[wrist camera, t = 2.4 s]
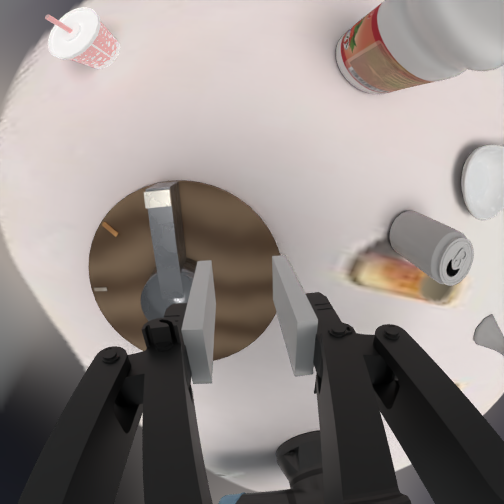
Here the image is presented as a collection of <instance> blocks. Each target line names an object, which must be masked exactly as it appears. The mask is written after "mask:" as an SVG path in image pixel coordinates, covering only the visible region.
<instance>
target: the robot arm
mask: <svg viewBox="0 0 504 504" xmlns="http://www.w3.org/2000/svg"><path fill="white" fill-rule="evenodd" d="M272 272H273V301H274V305H275V308H276V312H277V315H278V319H279V323H280V326H281V330H282V333H283V337H284V340H285V344H286V347H287V351H288V354H289V358H290V362H291V365H292V369H293V372H294V376H303V375H310V374H313V368H314V366H315V369H316V372H317V375H316V382H315V390H314V393H317V400H318V412H319V424H320V431H316V432H310V433H306V434H303V435H300V436H297V437H294V438H292V439H290V440H288V441H287V442H285V443H284V444H282V445H281V446H280V447H279V448H278V450H277V452H276V456H277V462H278V465H279V466H280V468H281V470H282V471H283V473H284V474H285V476H286V477H287V479H288V480H289V483H290V488H291V489H287V490H279V491H269V492H257V493H241V494H230V495H225V496H224V497H222V498H221V500H220V501H219V503H218V504H411V501H410V499H409V498H408V496H406V495H403V494H401V493H400V491H399V489H398V485H397V480H396V476H395V471H394V466H393V462H392V458H391V453H390V449H389V445H388V441H387V437H386V433H385V429H384V425H383V422H382V418H381V414H380V412H381V413H382V415H383V417H384V418H385V420H386V422H387V423H388V425H389V427H390V428H391V430H392V432H393V433H394V435H395V436H396V438H397V440H398V441H399V443H400V445H401V446H402V448H403V450H404V451H405V453H406V455H407V456H408V458H409V460H410V462H411V463H412V465H413V467H414V468H415V470H416V471H417V473H418V475H419V477H420V479H421V480H422V482H423V484H424V485H425V487H426V489H427V491H428V492H429V494H430V496H431V498H432V499H433V501H434V503H435V504H504V441H503V440H502V439H501V438H500V436H499V435H498V434H497V433H496V431H495V430H494V429H493V428H492V427H491V426H490V424H489V423H488V422H487V421H486V419H485V418H484V417H483V416H482V415H481V413H480V412H479V411H478V410H477V409H476V408H475V406H474V405H473V404H472V403H471V402H470V401H469V399H468V398H467V397H466V396H465V395H464V394H463V393H462V391H461V390H460V389H459V388H458V387H457V386H456V385H455V384H454V382H453V381H452V380H451V379H450V378H449V377H448V376H447V375H446V374H445V372H444V371H443V370H442V369H441V368H440V367H439V366H438V365H437V364H436V363H435V362H434V361H433V359H432V358H431V357H430V356H429V355H428V354H427V353H426V352H425V351H424V350H423V349H422V348H421V347H420V346H419V345H418V344H417V342H416V341H415V340H414V339H413V338H412V337H411V336H410V335H409V334H408V333H407V332H406V331H405V330H404V329H402V328H401V327H399V326H396V325H390V324H388V325H382V326H379V327H378V328H377V329H376V331H375V335H364V334H357V333H356V332H355V330H354V329H353V327H351V326H350V325H348V324H345V323H342V322H341V320H340V319H339V317H338V315H337V314H336V312H335V310H334V309H333V307H332V305H331V304H330V302H329V300H328V299H327V297H326V296H324V295H323V294H321V293H319V292H317V293H307V294H305V292H304V290H303V288H302V286H301V284H300V282H299V280H298V278H297V276H296V274H295V272H294V270H293V268H292V266H291V264H290V262H289V261H288V259H287V257H286V255H280V256H272ZM215 313H216V298H215V289H214V280H213V271H212V261H211V260H207V261H198V262H197V266H196V270H195V274H194V278H193V282H192V286H191V290H190V295H189V299H188V303H176V304H171V305H170V306H169V307H168V308H167V309H166V311H165V314H164V317H163V318H156V319H153V320H150V321H148V322H147V323H145V324H144V325H143V327H142V329H141V330H142V333H143V337H144V340H145V344H146V347H147V348H146V350H145V351H143V352H140V353H136V354H131V355H127V353H126V350H124V349H123V348H121V347H108V348H105V349H103V350H102V351H100V352H99V353H98V354H97V355H96V356H95V358H94V360H93V361H92V363H91V364H90V366H89V368H88V369H87V371H86V373H85V375H84V376H83V378H82V379H81V381H80V383H79V385H78V386H77V388H76V390H75V391H74V393H73V395H72V396H71V398H70V400H69V402H68V403H67V405H66V407H65V409H64V411H63V412H62V414H61V416H60V418H59V419H58V422H57V423H56V425H55V427H54V429H53V431H52V433H51V435H50V436H49V438H48V440H47V442H46V444H45V446H44V448H43V450H42V452H41V454H40V456H39V458H38V460H37V462H36V464H35V466H34V468H33V471H32V472H31V475H30V477H29V479H28V481H27V483H26V486H25V488H24V490H23V492H22V495H21V497H20V500H19V502H18V504H114V502H115V498H116V495H117V492H118V488H119V485H120V481H121V478H122V474H123V471H124V468H125V465H126V462H127V458H128V455H129V452H130V449H131V445H132V443H133V440H134V436H135V433H136V430H137V427H138V424H139V421H140V418H141V415H142V413H143V483H144V500H145V504H212V499H211V495H210V490H209V485H208V480H207V476H206V471H205V465H204V460H203V455H202V449H201V444H200V438H199V432H198V426H197V419H196V413H195V406H194V399H193V392H192V388H191V384H190V383H191V376H192V381H193V384H207V383H212V369H213V348H214V330H215ZM379 410H380V411H379Z"/></svg>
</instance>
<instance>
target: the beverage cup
mask: <svg viewBox="0 0 504 504" xmlns="http://www.w3.org/2000/svg"><path fill="white" fill-rule="evenodd" d="M45 19H47V20H48V21H50V22H52V23H53V24H55V26H54V27H53V29H52V30H51V33H50V36H49V39H48V50H49V51H50V53H51V54H52V56H54V57H57V58H60V59H63V60H65V59H70V60H73V61H76V62H79V63H82V64H85V65H87V66H90V67H93V68H96V69H103V68H105V67H107V66H109V65H111V64H112V63H113V62H114V61H115V60H116V58H117V57H118V55H119V52H120V44H119V42H118V41H117V40H116V39H115V37H114V36H113V35H112V34H111V33H110V32H109V31H108V29H107V28H106V27H105V26H104V25H103V24H102V23H101V21H100V17H99V16H98V15H97V13H96V12H95V11H94V10H93V9H91V8H87V7H82V8H76V9H74V10H72V11H70V12H68V13H66V14H65V15H64V16H63V17H62V18H61V19H60V20H59V21H58V20H57V19H55V18H53V17H52V16H50V15H47V16H46V17H45Z"/></svg>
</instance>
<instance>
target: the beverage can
mask: <svg viewBox="0 0 504 504" xmlns="http://www.w3.org/2000/svg"><path fill="white" fill-rule="evenodd" d="M390 243H391V246H392V248H393V249H394V250H395V251H396V252H397V253H398V254H400V255H401V256H403V257H404V258H405V259H407V260H408V261H410V262H411V263H412V264H414V265H415V266H416V267H418V268H419V269H420V270H422V271H423V272H424V273H426V274H427V275H428V276H430V277H431V278H432V279H434V280H435V281H437V282H438V283H440V284H446V285H449V286H452V285H456V284H458V283H459V282H461V281H462V280H463V279H464V278H465V276H466V275H467V274H468V272H469V270H470V268H471V265H472V262H473V257H474V251H473V246H472V244H471V242H470V241H469V240H468V239H467V238H466V236H465V235H464V234H463V233H461V232H459V231H457V230H455V229H453V228H451V227H449V226H447V225H444V224H442V223H440V222H438V221H436V220H433V219H431V218H429V217H427V216H424V215H422V214H420V213H417V212H415V211H406V212H404V213H402V214H400V215H399V216H398V217H397V218H396V219H395V221H394V222H393V224H392V226H391V229H390Z"/></svg>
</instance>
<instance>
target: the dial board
mask: <svg viewBox="0 0 504 504" xmlns="http://www.w3.org/2000/svg"><path fill="white" fill-rule="evenodd" d="M167 182H174V181H167ZM178 182H179V194H180V204H181V214H182V223H183V232H184V241H185V249H186V257H187V258H190V259H192V260H194V261H196V262H198V261H207V260H211V261H212V271H213V280H214V289H215V298H216V313H215V330H214V348H213V361H214V360H218V359H221V358H225V357H228V356H230V355H232V354H235V353H237V352H239V351H240V350H242V349H244V348H245V347H247V346H248V345H250V344H251V343H252V342H254V341H255V340H256V339H257V338H258V337H259V336H260V335H261V334H262V333H263V332H264V331H265V329H266V328H267V327H268V325H269V324H270V323H271V321H272V319H273V317H274V316H275V314H276V308H275V305H274V301H273V272H272V256H280V253H279V250H278V247H277V245H276V242H275V240H274V238H273V236H272V234H271V233H270V231H269V229H268V227H267V226H266V225H265V223H264V222H263V221H262V219H261V218H260V217H259V216H258V215H257V214H256V213H255V212H254V211H253V210H252V208H251V207H249V206H248V205H247V204H246V203H244V202H243V201H242V200H240V199H239V198H237V197H236V196H234V195H232V194H230V193H229V192H227V191H225V190H222V189H220V188H217V187H215V186H212V185H208V184H204V183H200V182H194V181H185V180H182V181H178ZM161 183H165V182H161ZM156 184H157V183H156ZM153 185H155V184H153ZM153 185H150V186H147V187H144V188H142V189H140V190H138V191H136V192H134V193H132V194H130V195H128V196H127V197H125V198H124V199H123V200H121V201H120V202H118V203H117V204H116V205H115V206H114V207H113V208H112V209H111V210H110V211H109V212H108V214H107V215H106V216H105V218H104V219H103V220H102V222H101V224H100V225H99V227H98V229H97V231H96V233H95V236H94V239H93V241H92V245H91V250H90V254H89V278H90V283H91V288H92V291H93V294H94V297H95V300H96V302H97V304H98V306H99V308H100V310H101V312H102V313H103V315H104V316H105V318H106V319H107V321H108V322H109V323H110V324H111V326H112V327H113V328H114V329H115V330H116V331H117V332H118V333H119V334H120V335H121V336H122V337H123V338H125V339H126V340H127V341H128V342H130V343H131V344H133V345H134V346H136V347H137V348H139V349H141V350H143V351H145V350H146V348H147V347H146V344H145V340H144V337H143V333H142V330H141V329H142V327H143V325H144V324H145V323H147V322H148V320H147V318H146V317H145V315H144V313H143V311H142V308H141V300H140V299H141V293H142V291H143V288H144V286H145V285H146V283H147V281H148V279H149V277H150V276H151V274H152V272H153V270H154V269H155V267H156V262H155V256H154V250H153V244H152V237H151V230H150V223H149V215H148V208H145V200H144V192H145V191H146V189H147V188H149V187H151V186H153Z"/></svg>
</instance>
